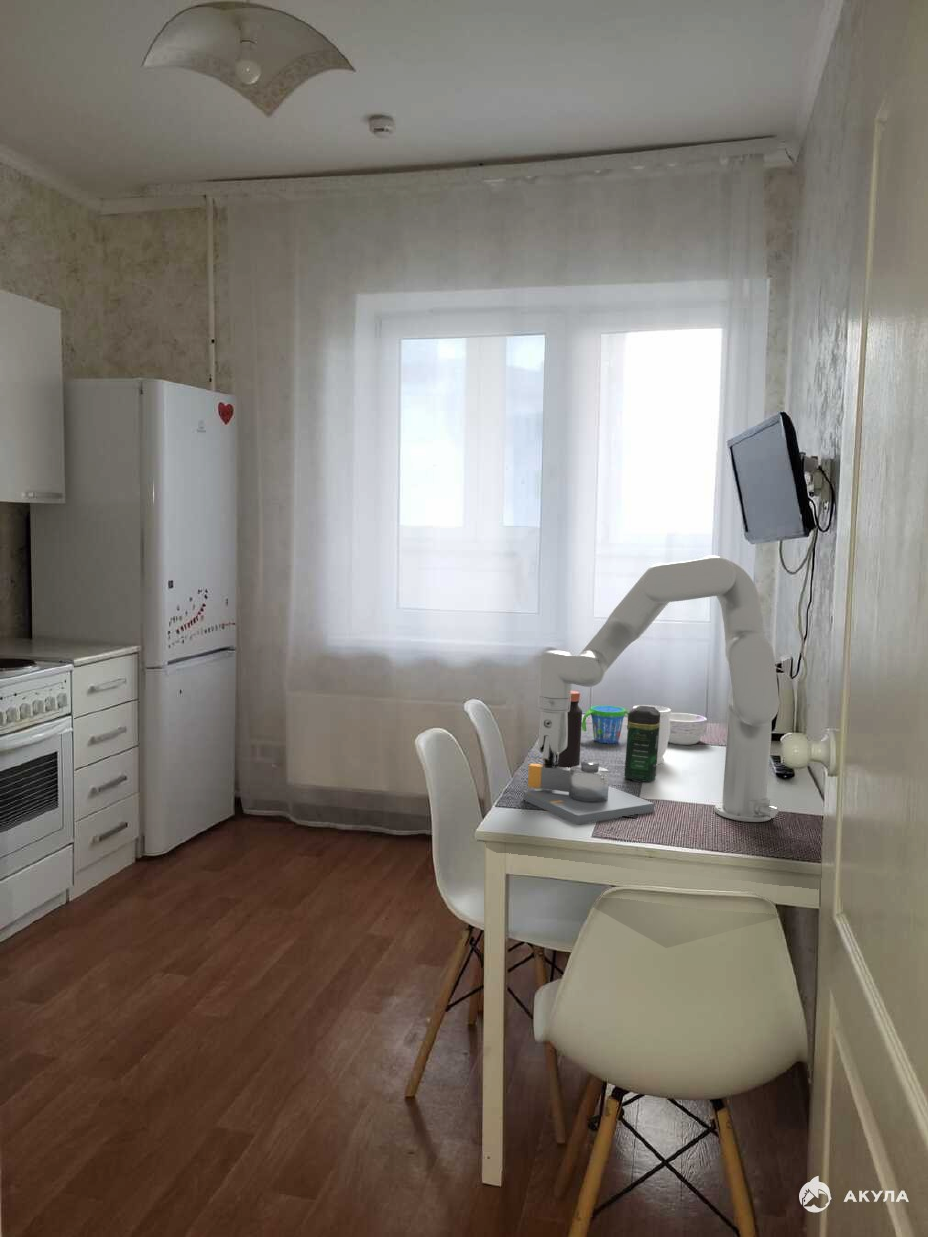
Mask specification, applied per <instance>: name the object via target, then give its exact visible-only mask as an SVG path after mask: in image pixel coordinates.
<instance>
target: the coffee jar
mask: <svg viewBox="0 0 928 1237" xmlns="http://www.w3.org/2000/svg"><path fill="white" fill-rule="evenodd" d="M628 712H629V717H628V716H627V725H628V729H627V734H626V736H627V737H626V746H625V747H626V748H625V749H626V750H625V761H624V762H625V764H624V777H625V779H629V780H632V781H633V782H639V783H641V782H652V781H654V779H656V776H657V768H658V764H657V754H658V741H659V727H660V712H659V711H658V710H657V709H655V707H649V706H639V707H637V708H634V709H633V708H632V709H630V710H629V711H628Z"/></svg>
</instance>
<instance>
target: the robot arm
mask: <svg viewBox="0 0 928 1237" xmlns="http://www.w3.org/2000/svg"><path fill="white" fill-rule="evenodd" d="M711 597H716V598H717V600H718V601H719V604H720V608H721V615H722V622H723V629H724V642H725V647H724V651H725V652H724V653H725V657H726V660H727V661H728V668H729V675H730V676H729V677H730V684H731V687H730V689H729V692H728V697H727V729H726V730H727V731H726V745H725V756H724V757H725V759H724V772H723V787H722V798H721V799H722V800H721V802H718V803H716V804H715V805H714V812H715V813H716V814H717V815H718V816H721V817H723V818H727V819H730V820H735V821H738V822H739V821H740V822H746V823H747V822H749V823H763V822H764V823H765V822H768V821H770V820H772V819H773V818H775V817H776V815H777V814H778V813H779V811H780V810H779V808H778V807H775V806H771V798H768V796H767V794H768V782H769V770H770V769H769V768H770V756H771V744H772V722H773V720H774V719H775V717H776V716H777V715H778V711H779V706H780V696H779V687H778V686H779V685H778V677H777V667H776V658H775V653H774V649H773V646H772V644H771V643H770V641H769V640H768V639H767V637H766V632H765V625H764V618H763V613H762V612H763V610H762V606H761V600H760V596H759V592H758V588H757V586H756V584H755V582H754V581H753V579H752V577H751V576H750V575H749V573H747V572H746V570H745V569H744V568H742V567H741V566H740V565H738V564H737V563H735V562H733V561H731V560H729V559H727V558H724V557H722V556H718V555H708V556H705V557H703V558H698V559H692V560H686V561H679V562H669V563H663V562H662V563H661V562H659V563H656V564H652V565H651V566H650V567H649V568H648V569H647V570H646V571H645V572H644V573H643V574H642V576H640V578H639V579H638V581H637V582H636V583H635V584H634V585H633V587H632V588H631V589H630V590H629V591H628V592H627V593H626V595H625V596H624V597H623V599H621V601H620V602H619V603H618V605H617V606H615V608H614V609H613V610H612V612H611V613H610V615H609V616H608V618H607V619H606V621H605V623H604V624H603V625H602V626H601V628H600V629H599V630H598V631H597V633H596V634H595V635H594V636H593V637H592V639H591V640H590V641H589V642H588V644H587V645H585V647H584V648H583V649H582V651H581V652H580V653H579V654H571V653H570V652H569V651H563V650H546V651H544V652H543V653H541V655H540V665H539V678H538V679H539V683H538V684H539V685H538V698H537V710H538V711H540V712H541V713H540V719H539V728H538V729H539V731H538V741H537V742H538V744H537V745H538V746H537V748H538V752H539V753H541V754H543V756H542V762H543V764H542V765H550V766H558V758H559V754H560V753H561V752H562V751H564V750H565V749H566V748H567V743H568V713H567V712H569V711H570V701H571V691H572V685H576V686H581V687H586V688H591V687H595V686H597V685H599V684H600V683H601V682H603V680H604V677H605V674H606V673H607V671H608V670H609V669H610V667H611V666H612V665H613V664H614V662H616V660H617V659H618V658H619V657H620V655H621V654H622V653H623V652H624V651H625V650H626V649H627V648H628V647H629V646H630V645H631V644H632V643H633V642H635V641H636V640H638V639H639V638H640V637H641V636H642V635H643V634H644V633H645V632H646V631H647V629H648V628H649V627H650V626H651V624H652V623H653V622H654V621H655V620H656V619H657V618H658V616H659V615H660V614H661V612H662V611H663V610H664V609H665V608H666V606H668V604H669V603H673V602H683V601H689V600H696V599H704V598H711ZM556 763H557V764H556ZM771 818H772V819H771Z"/></svg>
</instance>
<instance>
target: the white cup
mask: <svg viewBox="0 0 928 1237" xmlns="http://www.w3.org/2000/svg"><path fill="white" fill-rule="evenodd" d="M639 706H649V707H655V709H657V710H658V711H659V712H660V727H659V741H658V754H657V765H660V764H663V763H664V762H665V758H664V755H665V754H666V751H667V749H668V748H667V747H668V743H669V742H668V740H669V735H670V719H669V714H670V713H672V709H671V708H669V707H665V706H662V705H655V704H653V705H652V704H637V705H634V706H633V707H632V709H634V708H637V707H639Z"/></svg>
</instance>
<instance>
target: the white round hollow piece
mask: <svg viewBox="0 0 928 1237" xmlns="http://www.w3.org/2000/svg"><path fill="white" fill-rule="evenodd" d="M669 719H670V735H669V740H668V743H669V744H674V745H682V746H683V745H685V746H689V745H690V746H691V745H696V744H697V743H698V742H699V741H700V739H701V737H703V736H706V735H707V734H708V732H707V731H708V718H707V717H705V716H703V715H699V714H694V713H685V712H671V713H670V714H669Z"/></svg>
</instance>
